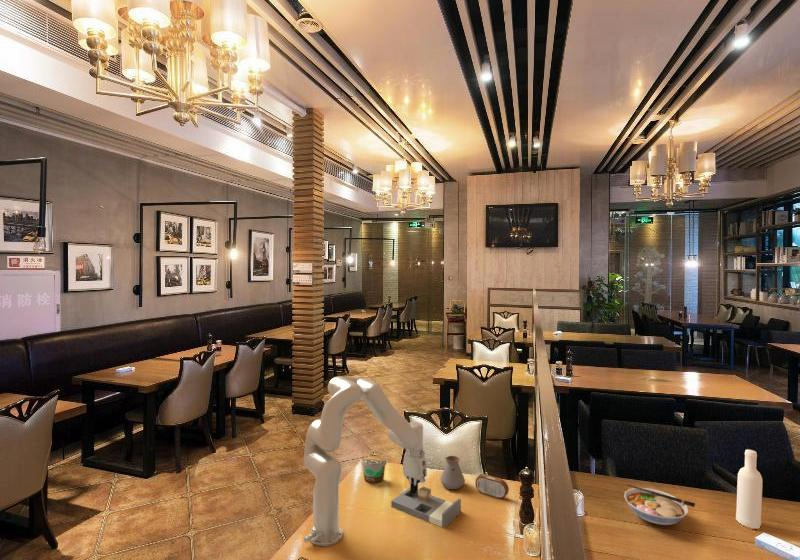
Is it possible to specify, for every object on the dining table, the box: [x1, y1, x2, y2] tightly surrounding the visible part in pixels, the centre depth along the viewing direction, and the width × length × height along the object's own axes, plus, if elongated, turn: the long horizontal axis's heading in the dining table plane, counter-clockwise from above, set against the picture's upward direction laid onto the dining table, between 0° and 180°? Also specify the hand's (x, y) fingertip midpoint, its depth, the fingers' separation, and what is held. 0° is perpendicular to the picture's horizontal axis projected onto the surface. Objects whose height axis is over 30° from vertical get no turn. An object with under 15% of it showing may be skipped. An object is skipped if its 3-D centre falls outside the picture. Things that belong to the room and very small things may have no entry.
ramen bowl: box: [623, 484, 696, 526], centre depth 181 cm, size 25×23×8 cm
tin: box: [475, 473, 510, 500], centre depth 199 cm, size 15×3×8 cm, turn 58°
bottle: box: [735, 449, 763, 529], centre depth 177 cm, size 8×8×30 cm
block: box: [418, 485, 432, 502], centre depth 191 cm, size 4×4×4 cm
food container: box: [361, 457, 387, 485], centre depth 210 cm, size 12×6×10 cm, turn 80°
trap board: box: [390, 487, 462, 529], centre depth 187 cm, size 14×26×6 cm, turn 55°
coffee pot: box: [439, 455, 466, 490], centre depth 202 cm, size 21×12×15 cm, turn 174°
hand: (414, 492), depth 194 cm, fingers closed
